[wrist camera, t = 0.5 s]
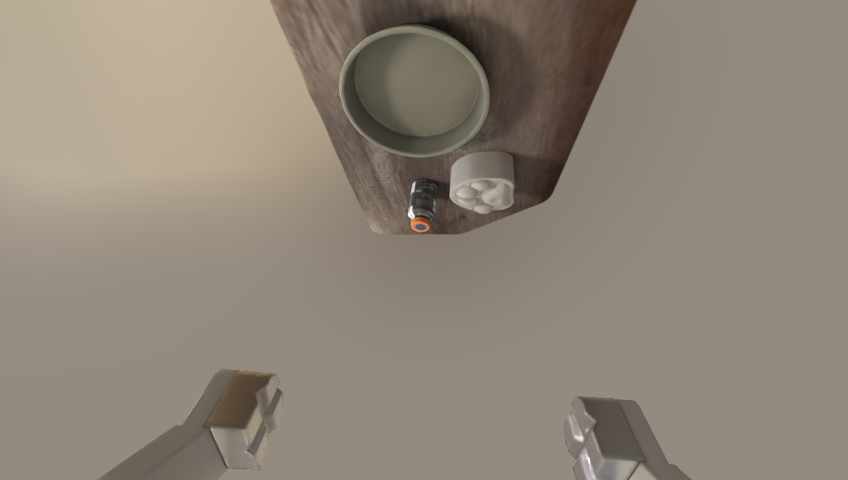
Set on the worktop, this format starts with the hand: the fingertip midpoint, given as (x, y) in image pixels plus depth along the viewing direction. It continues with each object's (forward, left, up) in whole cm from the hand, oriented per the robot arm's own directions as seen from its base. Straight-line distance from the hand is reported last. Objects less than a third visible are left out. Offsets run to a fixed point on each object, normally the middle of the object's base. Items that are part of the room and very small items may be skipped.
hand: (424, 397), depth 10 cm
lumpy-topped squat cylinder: (+46, -14, -53) cm, 72 cm away
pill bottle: (+47, -28, -53) cm, 76 cm away
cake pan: (+23, -18, -53) cm, 61 cm away
